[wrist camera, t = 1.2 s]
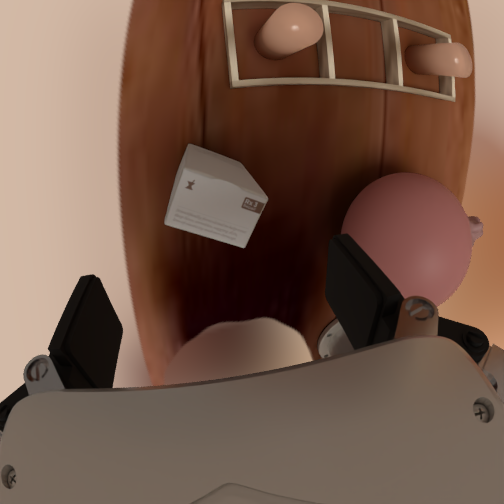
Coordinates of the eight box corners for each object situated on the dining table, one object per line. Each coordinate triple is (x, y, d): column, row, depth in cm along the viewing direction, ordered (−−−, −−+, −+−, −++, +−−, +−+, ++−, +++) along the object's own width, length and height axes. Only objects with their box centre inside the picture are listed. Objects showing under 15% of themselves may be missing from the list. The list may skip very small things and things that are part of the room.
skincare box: (174, 179, 28) (157, 229, 18) (189, 139, 26) (179, 165, 16) (228, 198, 30) (243, 255, 20) (245, 160, 28) (270, 198, 18)
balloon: (429, 251, 39) (489, 309, 26) (318, 274, 37) (368, 362, 24) (444, 157, 31) (528, 199, 18) (319, 160, 30) (403, 214, 16)
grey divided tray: (442, 99, 27) (486, 108, 20) (230, 88, 24) (239, 82, 18) (438, 36, 22) (481, 34, 15) (221, 5, 19) (228, -26, 13)
